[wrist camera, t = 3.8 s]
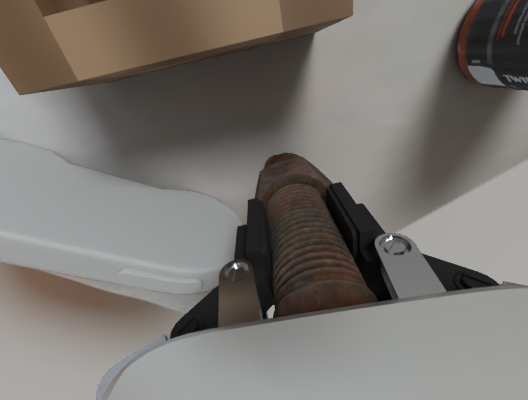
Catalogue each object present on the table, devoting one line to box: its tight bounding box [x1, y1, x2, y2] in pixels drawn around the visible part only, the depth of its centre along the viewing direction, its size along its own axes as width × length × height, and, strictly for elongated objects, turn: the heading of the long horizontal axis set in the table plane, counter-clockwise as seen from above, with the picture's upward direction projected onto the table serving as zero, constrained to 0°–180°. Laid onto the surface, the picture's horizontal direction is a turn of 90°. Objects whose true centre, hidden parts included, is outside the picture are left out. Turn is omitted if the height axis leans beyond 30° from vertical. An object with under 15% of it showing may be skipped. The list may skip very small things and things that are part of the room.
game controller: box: [0, 140, 244, 294], centre depth 14 cm, size 20×2×8 cm, turn 70°
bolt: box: [255, 153, 378, 318], centre depth 11 cm, size 6×5×15 cm
